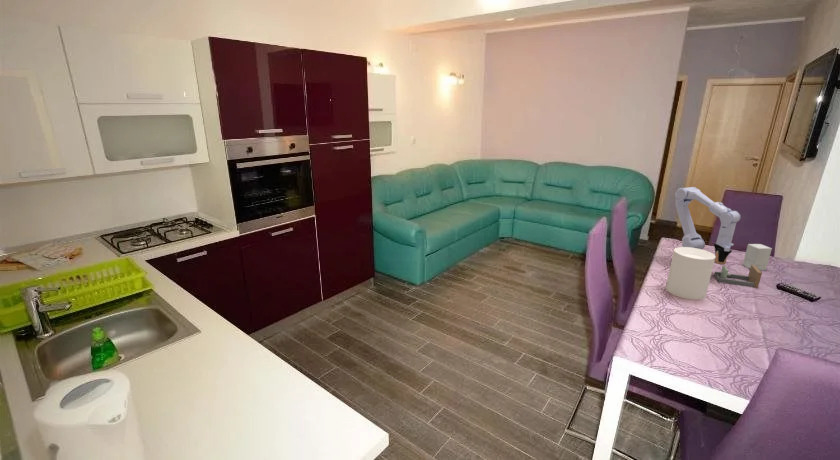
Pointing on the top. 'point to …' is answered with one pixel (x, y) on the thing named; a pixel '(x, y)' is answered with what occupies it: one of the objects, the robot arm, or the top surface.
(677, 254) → the canister
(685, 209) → the robot arm
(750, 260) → the supplement box
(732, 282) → the pusher lane
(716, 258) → the terracotta jar
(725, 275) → the pusher paddle
